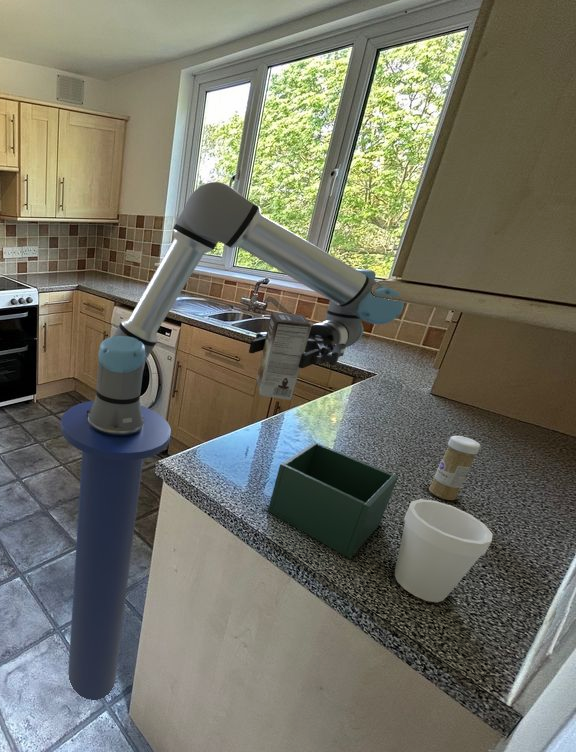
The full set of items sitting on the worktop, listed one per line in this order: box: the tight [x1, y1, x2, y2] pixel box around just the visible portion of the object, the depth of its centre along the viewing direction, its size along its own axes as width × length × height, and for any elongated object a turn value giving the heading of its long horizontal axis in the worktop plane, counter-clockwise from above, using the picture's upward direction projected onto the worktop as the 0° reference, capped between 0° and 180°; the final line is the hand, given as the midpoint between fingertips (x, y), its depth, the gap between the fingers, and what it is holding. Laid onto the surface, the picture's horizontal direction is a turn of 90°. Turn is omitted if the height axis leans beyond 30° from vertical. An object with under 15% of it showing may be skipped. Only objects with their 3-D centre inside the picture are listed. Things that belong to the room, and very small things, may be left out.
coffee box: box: [255, 311, 313, 401], centre depth 85 cm, size 9×6×16 cm
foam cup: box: [394, 498, 493, 603], centre depth 63 cm, size 10×9×13 cm
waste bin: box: [267, 441, 399, 559], centre depth 77 cm, size 15×15×11 cm
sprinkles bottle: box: [428, 435, 481, 501], centre depth 85 cm, size 5×5×14 cm
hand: (275, 353), depth 83 cm, fingers closed on coffee box, 10 cm apart
